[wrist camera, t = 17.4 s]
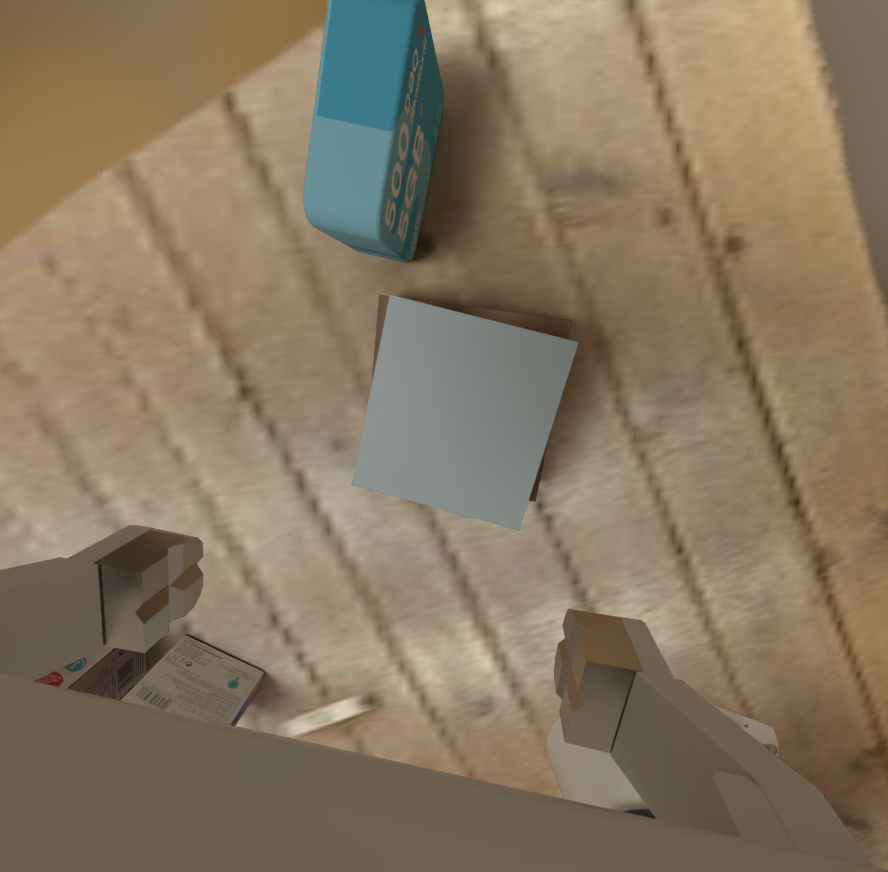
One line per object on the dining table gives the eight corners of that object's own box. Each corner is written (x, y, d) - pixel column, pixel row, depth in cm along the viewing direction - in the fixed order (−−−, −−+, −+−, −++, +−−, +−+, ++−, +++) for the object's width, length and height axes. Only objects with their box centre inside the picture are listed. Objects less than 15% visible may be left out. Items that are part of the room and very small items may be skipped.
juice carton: (146, 671, 49) (-115, 932, 28) (91, 658, 50) (-209, 906, 28) (146, 621, 48) (-134, 858, 26) (88, 608, 48) (-232, 832, 27)
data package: (413, 266, 36) (375, 237, 24) (360, 253, 36) (297, 219, 25) (446, 98, 33) (421, -26, 21) (387, 86, 33) (331, -44, 21)
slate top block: (565, 340, 32) (578, 342, 27) (515, 502, 35) (519, 530, 30) (405, 299, 32) (389, 294, 27) (370, 463, 36) (351, 484, 31)
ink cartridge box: (170, 668, 49) (41, 806, 35) (183, 631, 47) (54, 759, 33) (251, 706, 49) (154, 859, 35) (266, 670, 47) (172, 814, 34)
